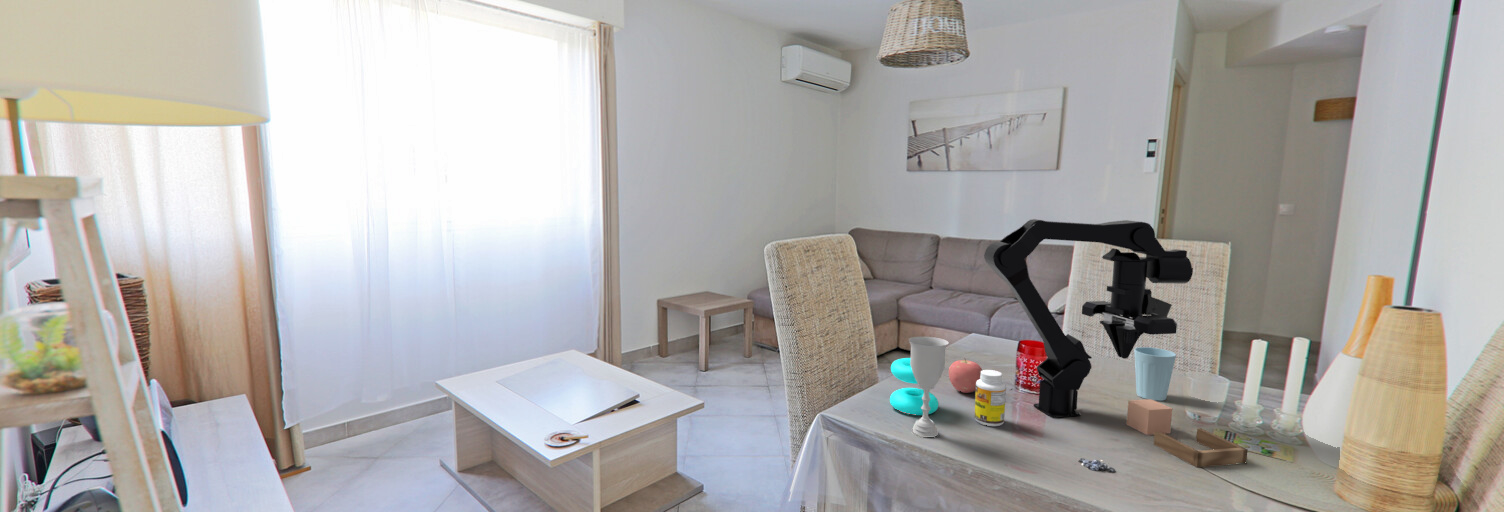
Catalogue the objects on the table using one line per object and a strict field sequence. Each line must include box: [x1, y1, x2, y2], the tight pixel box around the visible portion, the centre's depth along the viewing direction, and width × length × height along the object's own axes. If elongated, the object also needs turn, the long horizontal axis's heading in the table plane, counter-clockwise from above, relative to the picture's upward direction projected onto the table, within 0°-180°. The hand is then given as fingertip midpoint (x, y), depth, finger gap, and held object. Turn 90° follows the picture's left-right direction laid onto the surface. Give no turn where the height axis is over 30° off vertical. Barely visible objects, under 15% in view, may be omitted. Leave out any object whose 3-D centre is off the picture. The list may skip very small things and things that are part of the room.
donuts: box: [889, 357, 939, 416], centre depth 123 cm, size 10×10×10 cm
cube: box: [1126, 399, 1173, 436], centre depth 113 cm, size 5×5×5 cm
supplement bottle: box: [974, 369, 1007, 427], centre depth 116 cm, size 6×6×10 cm
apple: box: [948, 357, 983, 394], centre depth 133 cm, size 7×7×8 cm
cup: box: [1133, 346, 1177, 402], centre depth 130 cm, size 8×8×10 cm
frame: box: [1153, 427, 1249, 468], centre depth 102 cm, size 10×9×2 cm
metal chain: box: [1078, 457, 1116, 474], centre depth 98 cm, size 7×8×2 cm
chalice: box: [908, 336, 949, 436], centre depth 110 cm, size 7×7×18 cm
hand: (1123, 357), depth 119 cm, fingers closed
